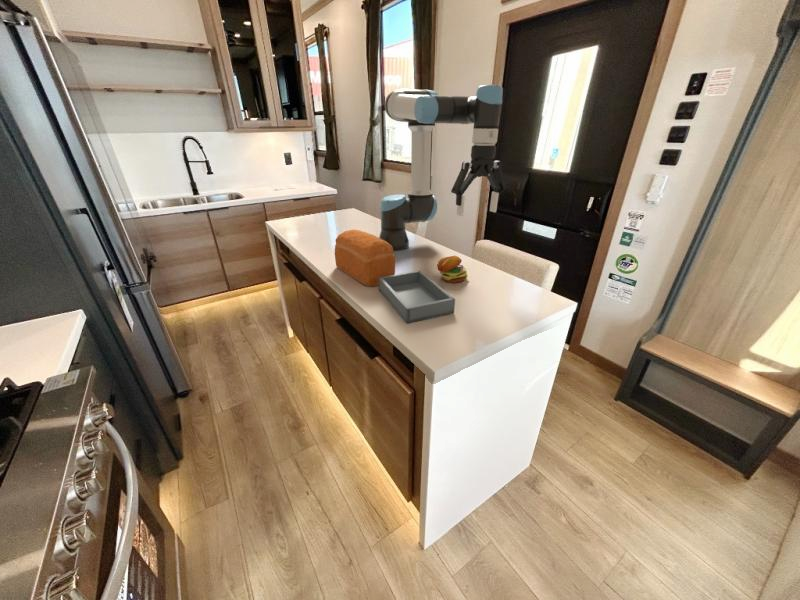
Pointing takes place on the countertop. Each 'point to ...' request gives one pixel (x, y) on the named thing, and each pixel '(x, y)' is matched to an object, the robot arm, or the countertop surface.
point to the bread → (364, 256)
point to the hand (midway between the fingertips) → (476, 213)
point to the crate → (416, 296)
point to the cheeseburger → (452, 269)
